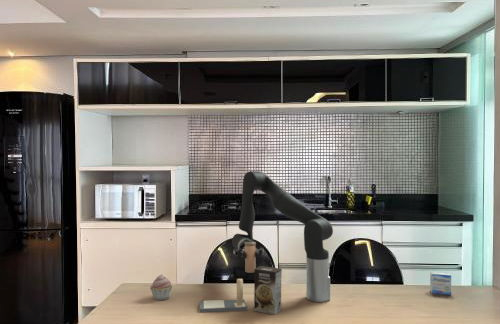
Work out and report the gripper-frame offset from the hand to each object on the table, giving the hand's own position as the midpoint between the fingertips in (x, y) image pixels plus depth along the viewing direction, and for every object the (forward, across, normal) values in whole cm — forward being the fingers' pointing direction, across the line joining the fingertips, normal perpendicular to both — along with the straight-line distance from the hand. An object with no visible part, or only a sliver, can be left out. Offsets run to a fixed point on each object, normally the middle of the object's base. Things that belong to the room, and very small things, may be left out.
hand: (251, 255), depth 165 cm
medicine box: (0, +84, +20) cm, 86 cm away
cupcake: (-7, -37, +18) cm, 42 cm away
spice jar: (-3, 0, +7) cm, 8 cm away
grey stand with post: (+7, -12, +18) cm, 23 cm away
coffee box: (+12, +5, +19) cm, 23 cm away
